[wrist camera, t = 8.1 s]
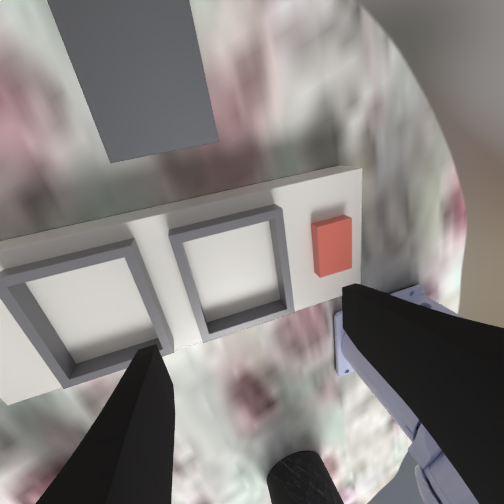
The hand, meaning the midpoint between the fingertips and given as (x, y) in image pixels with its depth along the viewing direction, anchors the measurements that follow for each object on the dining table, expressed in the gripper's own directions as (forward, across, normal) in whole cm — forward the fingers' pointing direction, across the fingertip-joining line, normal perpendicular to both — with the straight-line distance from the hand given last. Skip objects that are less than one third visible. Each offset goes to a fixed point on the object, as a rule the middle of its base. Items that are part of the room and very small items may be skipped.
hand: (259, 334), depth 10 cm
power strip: (+9, +3, +1) cm, 10 cm away
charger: (+9, +2, -9) cm, 13 cm away
